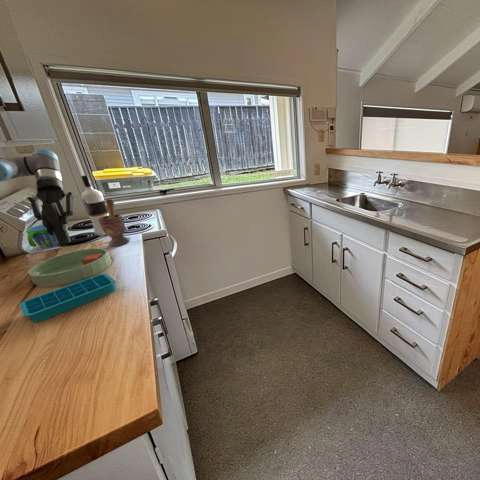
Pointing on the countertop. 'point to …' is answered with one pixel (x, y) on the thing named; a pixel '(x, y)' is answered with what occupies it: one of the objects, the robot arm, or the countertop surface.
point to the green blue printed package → (41, 237)
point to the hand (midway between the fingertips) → (56, 232)
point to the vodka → (94, 205)
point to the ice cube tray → (67, 297)
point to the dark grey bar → (55, 223)
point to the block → (91, 258)
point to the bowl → (68, 268)
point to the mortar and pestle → (113, 225)
